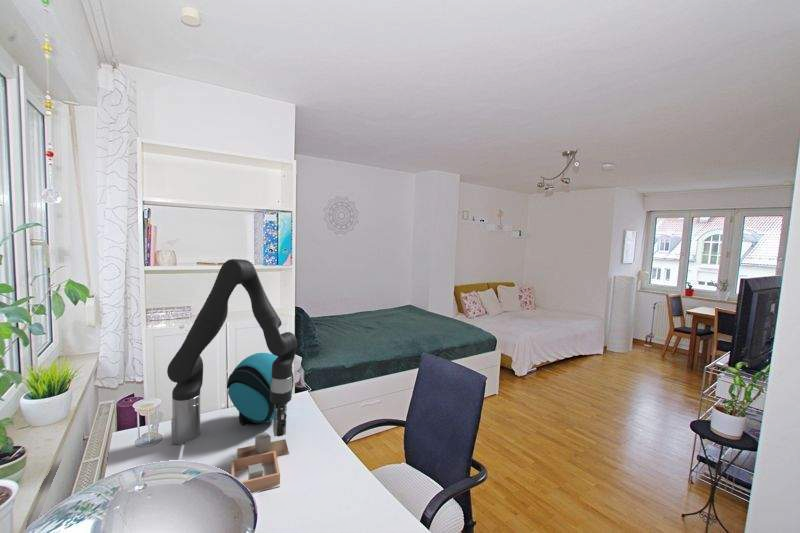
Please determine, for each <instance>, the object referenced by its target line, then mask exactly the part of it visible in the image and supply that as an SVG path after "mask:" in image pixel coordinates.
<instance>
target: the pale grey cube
mask: <svg viewBox="0 0 800 533" xmlns="http://www.w3.org/2000/svg"><path fill="white" fill-rule="evenodd" d="M271 437H272V436H271V435H270V434H269V433H268V432H267V431H265V432H262V433H258V434H256V435H255V437H254V445H255V449H256V450H257V451H258V452H259V453H263V452H265V451H268V450H270V448H271V442H272V440H271Z"/></svg>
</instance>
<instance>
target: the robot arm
mask: <svg viewBox="0 0 800 533" xmlns="http://www.w3.org/2000/svg"><path fill="white" fill-rule="evenodd" d="M238 285H241V286H242V287H243V288H244V289H245V291H246V292H247V294H248V297H249V299H250V305H251V311H252V313H253V316H254V318H255V320H256V322H257V323H258V325H259V328H261V330H262V332H263V333H262V334H263V337H264V340H265V344H266V347H267V349H268V351H269V352H270V354H273V355H275V356H278V357H277V358H276V360H275V361H274V362H273V364H272V377H271V385H270V401H271V402H272V403H273V404H274V408H275V416H276V417H275V418H276V420H277V436H276V437H282V436H284V435H283V434H284V427H285V426H286V427H287V409H288V407H287V405H286V403H287V404H288V403H290V401H291V400H292V396H293V389H292V372H293V363H294V360H295V356H296V352H297V349H298V340H297V337H296V334H294V333H293V332H290V331H286V332H283V333H280V330H279V328H280V327H281V326H282V320H281V318H280V317H279V315H278V314H277V312H276V310H275V309H274V307H273V305H272V303H271V302H270V300H269V297H268V295H267V294H266V292H265V289H264V287H263V285H262V283H261V280H260V278H259V275H258V272H257V270H256V268H255V266H254V264H253V263H252V262H251V261H249V260H248V259H242V258H239V259H238V258H231V259H228V260H226V261H225V262H223V264H221V267H220V269H219V271H218V273H217V276H216V279H215V280H214V283H213V285H212V286H213V287H212V288H211V290H210V292H209V294H208V296H207V297H206V300H205V301H204V304H203V305H202V308H201V309H200V311H199V313H198V314H197V316H196V318H195V320H194V321H193V323H192V325H191V327H190V329H189V331H188V333H187V335H186V337H185V339H184V340H183V343H182V345H181V347H180V348H179V349H178V351H177V352H176V354H175V355H174V356H173V358H172V359H170V360H171V361H170V362H169V363H168V366H167V369H166V371H167V372H166V373H167V377H168V379H169V380H170V381H171V382H173V383H176V384H175V386H174V387H173V389H172V392H171V402H172V403H171V404H172V405H171V407H172V408H171V410H172V411H171V415H172V417H171V445H186V442H190V441H193V440H195V439H196V438H198V437H199V436H201V390H202V389H201V388H202V386H203V379H204V362H203V358H202V356H201V354H202V353H203V352H204V350H205V349H206V348H207V347H208V346H209V345H210V344H211V342H213V340H214V339H215V338H216V336H217V335H218V334H219V332H220V331H221V329H222V327H223V326H224V324H225V322H226V319H227V318H228V311H229V299H230V298H231V295H232V293H233V292H234V290H235V288H236V287H237V286H238ZM285 424H286V425H285Z"/></svg>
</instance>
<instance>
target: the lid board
mask: <svg viewBox="0 0 800 533" xmlns="http://www.w3.org/2000/svg"><path fill="white" fill-rule="evenodd" d="M236 450H237V451H236V452H237V459H239V458H243V457H248V456H253V455H258V454H263V453H267V452H272V451H276V456H277V458H278V457H283V456H287V455H290V451H289V448H288V443H287V440H286V438H284V439H279V440H273V441H271V448H270V450H268V451H265V452H263V453H259V452H258V451H257V450H256V449H255V444H254V445H249V446H248V445H247V446H245V447H238V448H236Z"/></svg>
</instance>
